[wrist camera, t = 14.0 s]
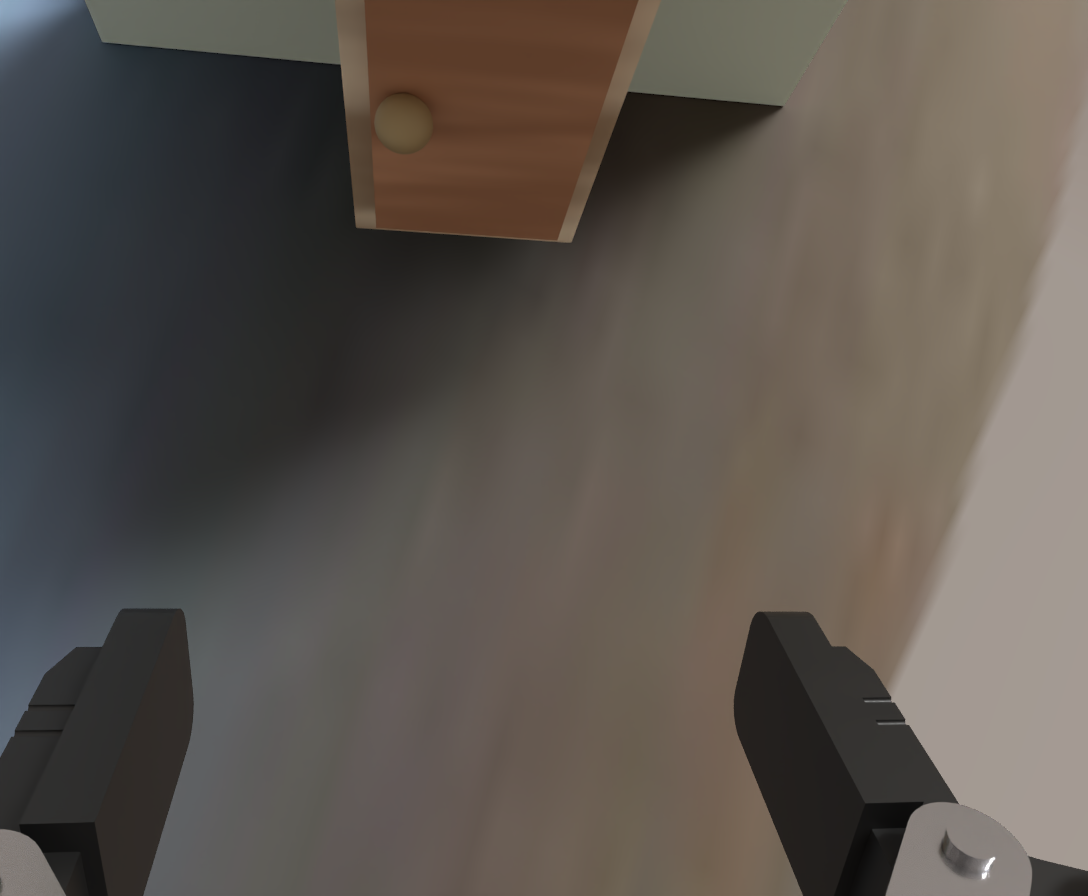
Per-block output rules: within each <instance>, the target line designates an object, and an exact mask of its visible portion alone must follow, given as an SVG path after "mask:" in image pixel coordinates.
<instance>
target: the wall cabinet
mask: <svg viewBox="0 0 1088 896" xmlns="http://www.w3.org/2000/svg"><path fill="white" fill-rule="evenodd" d="M660 2H661V0H335V8H336V19H337V30H338V40H339V51H340V62H341V72H342V83H343V94H344V104H345V115H346V126H347V136H348V147H349V158H350V168H351V179H352V190H353V200H354V211H355V222H356V228H367V229H381V230H395V231H409V232H423V233H438V234H452V235H466V236H480V237H494V238H509V239H523V240H537V241H551V242H565V243H571V242H572V240H573V237H574V234H575V232H576V229H577V226H578V223H579V221H580V218H581V215H582V213H583V210H584V207H585V205H586V202H587V199H588V197H589V194H590V191H591V188H592V186H593V183H594V180H595V178H596V175H597V172H598V170H599V167H600V164H601V161H602V159H603V156H604V153H605V151H606V148H607V145H608V143H609V140H610V137H611V134H612V132H613V129H614V126H615V124H616V121H617V118H618V116H619V113H620V110H621V107H622V105H623V102H624V99H625V97H626V94H627V91H628V89H629V86H630V83H631V80H632V78H633V75H634V72H635V70H636V67H637V64H638V62H639V59H640V56H641V54H642V51H643V48H644V45H645V43H646V40H647V37H648V35H649V32H650V29H651V27H652V24H653V21H654V18H655V16H656V13H657V10H658V8H659V5H660Z"/></svg>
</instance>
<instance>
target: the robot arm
mask: <svg viewBox="0 0 1088 896" xmlns="http://www.w3.org/2000/svg"><path fill="white" fill-rule="evenodd" d="M28 706H29V707H28V711H25V712H24V714H23V716H22V718H21V720H20V722H19V724H18V725H17V727H16V729H15V735H14V737H11V738H10V740H9V742H8V744H7V746H6V748H5V750H4V752H3V753H2V755H1V757H0V896H143V894H144V891H145V887H146V884H147V881H148V877H149V874H150V871H151V867H152V864H153V861H154V857H155V854H156V851H157V848H158V844H159V841H160V838H161V834H162V831H163V828H164V824H165V821H166V818H167V814H168V811H169V808H170V804H171V801H172V798H173V794H174V791H175V788H176V785H177V781H178V778H179V775H180V771H181V768H182V765H183V761H184V758H185V755H186V751H187V748H188V745H189V741H190V736H191V730H192V722H193V706H194V703H193V688H192V679H191V669H190V660H189V650H188V641H187V631H186V622H185V616H184V613H183V611H182V610H181V609H122V610H121V611H120V612H119V613H118V615H117V617H116V619H115V621H114V623H113V626H112V628H111V630H110V632H109V634H108V636H107V638H106V640H105V643H104V645H103V647H76V648H75V649H73V650H72V651H71V652H70V653H69V654H68V655H66V656H65V657H64V658H63V659H62V660H61V661H59V662H58V663H57V664H56V665H55V666H54V667H53V668H51V669H50V670H49V671H48V672H47V673H46V674H45V675H44V677H43V679H42V680H41V682H40V684H39V686H38V688H37V690H36V692H35V694H34V695H33V697H32V699H31V701H30V703H29V705H28ZM734 718H735V725H736V729H737V733H738V736H739V739H740V741H741V744H742V746H743V749H744V751H745V754H746V756H747V759H748V761H749V764H750V766H751V769H752V771H753V773H754V776H755V778H756V781H757V783H758V786H759V788H760V791H761V793H762V796H763V798H764V800H765V803H766V805H767V808H768V810H769V813H770V815H771V818H772V820H773V823H774V825H775V828H776V830H777V832H778V835H779V837H780V840H781V842H782V845H783V847H784V850H785V852H786V855H787V857H788V859H789V862H790V864H791V867H792V869H793V872H794V874H795V877H796V879H797V882H798V884H799V887H800V889H801V891H802V894H803V896H1088V871H1085V870H1081V869H1076V868H1072V867H1068V866H1064V865H1060V864H1056V863H1052V862H1047V861H1044V860H1040V859H1036V858H1033V857H1029V856H1027V853H1026V852H1025V850H1024V849H1023V847H1022V845H1021V844H1020V843H1019V841H1018V840H1017V839H1016V838H1015V837H1014V836H1013V835H1012V834H1011V833H1010V832H1009V831H1008V830H1007V829H1006V828H1005V827H1003V826H1002V825H1001V824H1000V823H998V822H997V821H995V820H994V819H992V818H991V817H989V816H987V815H985V814H983V813H982V812H979V811H977V810H975V809H972V808H970V807H967V806H964V805H960V804H959V803H958V802H957V800H956V798H955V797H954V795H953V794H952V792H951V791H950V789H949V787H948V786H947V784H946V783H945V781H944V780H943V778H942V776H941V775H940V773H939V772H938V770H937V769H936V767H935V765H934V764H933V762H932V761H931V759H930V758H929V756H928V754H927V753H926V751H925V750H924V748H923V747H922V745H921V743H920V742H919V740H918V739H917V737H916V736H915V734H914V732H913V731H912V729H911V728H910V726H909V725H906V724H905V718H904V717H903V715H902V714H901V712H900V710H899V709H898V707H897V706H896V704H895V703H892V702H891V696H890V695H889V693H888V692H887V690H886V688H885V687H884V685H883V684H882V682H881V681H880V679H879V677H878V676H877V674H876V673H875V671H874V670H873V669H872V668H871V667H869V666H868V665H867V664H866V663H865V662H863V661H862V660H861V659H860V658H859V657H857V656H856V655H855V654H854V653H853V652H851V651H850V650H849V649H848V648H847V647H832V646H831V645H830V643H829V641H828V640H827V638H826V636H825V635H824V633H823V631H822V630H821V628H820V626H819V625H818V623H817V621H816V620H815V618H814V617H813V615H812V614H810V613H809V612H757V613H756V614H755V616H754V617H753V619H752V622H751V625H750V630H749V634H748V638H747V643H746V647H745V651H744V655H743V660H742V664H741V668H740V673H739V677H738V681H737V685H736V690H735V696H734Z"/></svg>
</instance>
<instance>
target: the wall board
mask: <svg viewBox="0 0 1088 896" xmlns="http://www.w3.org/2000/svg"><path fill="white" fill-rule="evenodd" d="M847 1H848V0H661V2H660V5H659V8H658V10H657V13H656V16H655V18H654V21H653V24H652V27H651V29H650V32H649V35H648V37H647V40H646V43H645V45H644V48H643V51H642V54H641V56H640V59H639V62H638V64H637V67H636V70H635V72H634V75H633V78H632V80H631V83H630V86H629V89H628V92H638V93H649V94H659V95H670V96H681V97H691V98H702V99H713V100H723V101H734V102H745V103H755V104H766V105H777V106H785V104H786V102H787V101H788V99H789V97H790V96H791V94H792V92H793V91H794V89H795V87H796V86H797V84H798V82H799V81H800V79H801V77H802V76H803V74H804V72H805V71H806V69H807V67H808V66H809V64H810V62H811V61H812V59H813V57H814V56H815V54H816V53H817V51H818V49H819V48H820V46H821V44H822V43H823V41H824V39H825V38H826V36H827V34H828V33H829V31H830V29H831V28H832V26H833V24H834V23H835V21H836V19H837V18H838V16H839V14H840V13H841V11H842V9H843V8H844V6H845V4H846V3H847ZM85 3H86V5H87V7H88V10H89V12H90V14H91V17H92V19H93V22H94V24H95V26H96V29H97V31H98V33H99V36H100V38H101V41H102V42H105V43H116V44H127V45H137V46H148V47H159V48H169V49H180V50H191V51H201V52H212V53H223V54H233V55H244V56H255V57H265V58H276V59H286V60H297V61H308V62H318V63H329V64H340V65H341V62H340V51H339V40H338V30H337V19H336V8H335V0H85Z"/></svg>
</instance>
